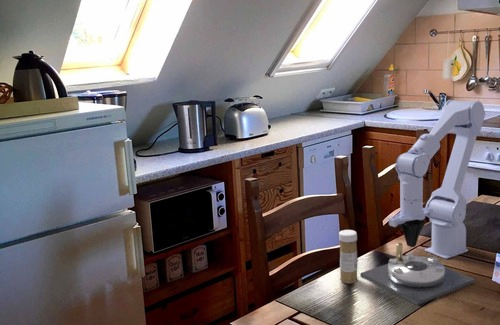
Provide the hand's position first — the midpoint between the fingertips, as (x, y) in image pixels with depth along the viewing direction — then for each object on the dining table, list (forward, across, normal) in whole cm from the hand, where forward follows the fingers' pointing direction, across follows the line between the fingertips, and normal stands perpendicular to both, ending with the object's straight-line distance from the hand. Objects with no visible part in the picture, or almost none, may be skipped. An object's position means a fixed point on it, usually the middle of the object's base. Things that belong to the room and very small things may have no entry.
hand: (411, 245), depth 147 cm
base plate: (+6, -5, -6) cm, 10 cm away
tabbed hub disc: (+5, -5, -6) cm, 10 cm away
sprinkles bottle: (+6, -19, +4) cm, 20 cm away
